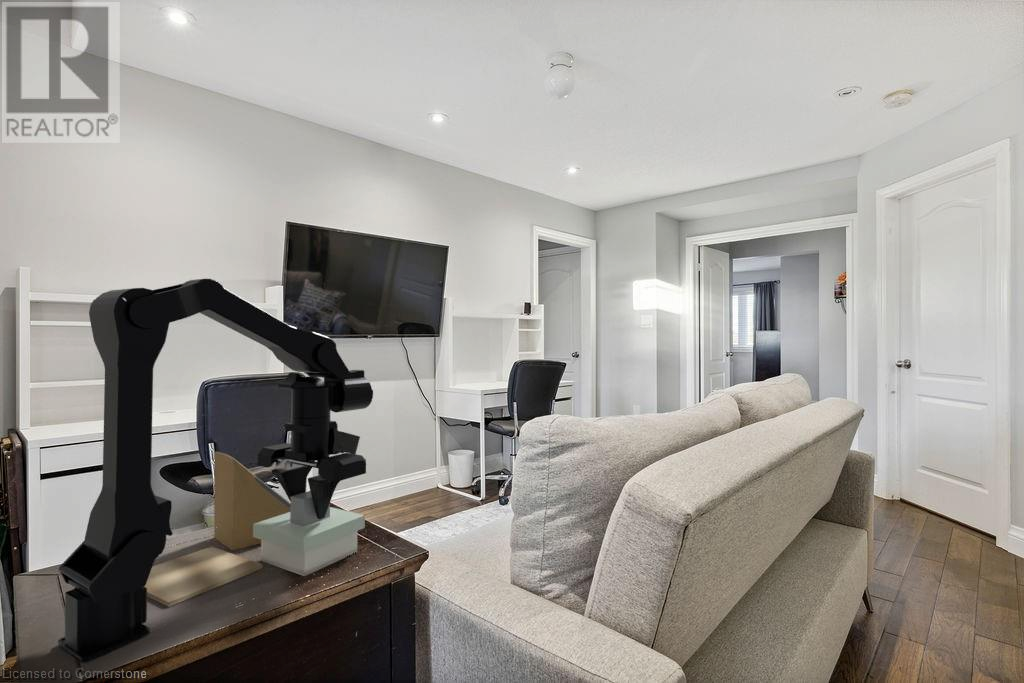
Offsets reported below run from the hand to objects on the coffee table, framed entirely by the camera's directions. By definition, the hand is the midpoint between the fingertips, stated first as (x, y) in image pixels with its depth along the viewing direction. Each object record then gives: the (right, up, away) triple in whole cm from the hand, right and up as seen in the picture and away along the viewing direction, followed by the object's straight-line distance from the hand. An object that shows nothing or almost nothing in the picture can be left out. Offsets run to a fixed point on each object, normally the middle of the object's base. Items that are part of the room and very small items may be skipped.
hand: (310, 515), depth 82 cm
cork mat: (-14, -6, -7) cm, 17 cm away
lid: (0, -3, 0) cm, 3 cm away
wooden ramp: (-11, -7, +10) cm, 17 cm away
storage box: (0, -6, 0) cm, 6 cm away
